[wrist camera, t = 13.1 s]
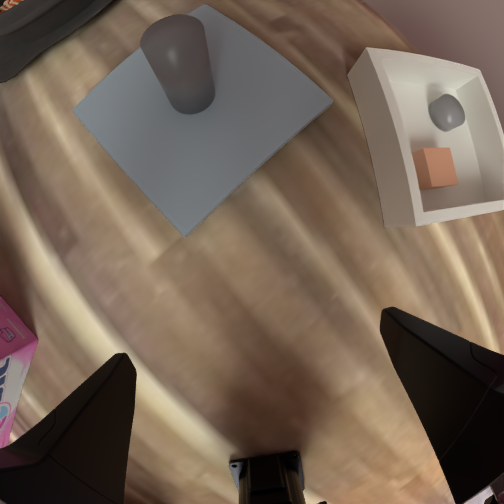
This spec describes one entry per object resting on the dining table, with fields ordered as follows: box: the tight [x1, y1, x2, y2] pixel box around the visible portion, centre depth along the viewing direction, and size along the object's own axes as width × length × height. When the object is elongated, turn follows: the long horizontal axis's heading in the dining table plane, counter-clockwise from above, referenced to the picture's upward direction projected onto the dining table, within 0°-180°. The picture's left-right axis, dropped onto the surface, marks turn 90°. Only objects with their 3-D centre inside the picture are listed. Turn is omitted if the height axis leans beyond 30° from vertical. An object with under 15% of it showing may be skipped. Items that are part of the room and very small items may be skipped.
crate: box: [347, 47, 504, 228], centre depth 18 cm, size 13×13×4 cm
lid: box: [72, 4, 334, 237], centre depth 15 cm, size 14×14×9 cm
